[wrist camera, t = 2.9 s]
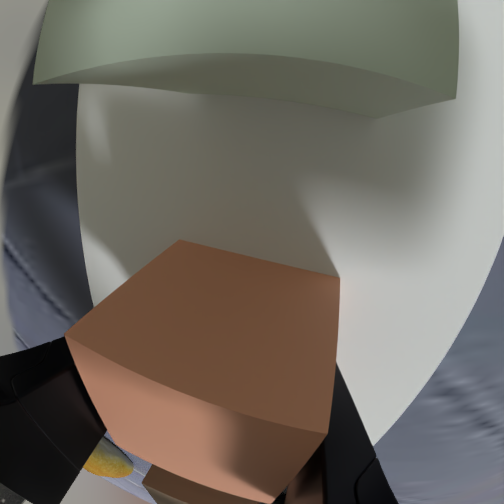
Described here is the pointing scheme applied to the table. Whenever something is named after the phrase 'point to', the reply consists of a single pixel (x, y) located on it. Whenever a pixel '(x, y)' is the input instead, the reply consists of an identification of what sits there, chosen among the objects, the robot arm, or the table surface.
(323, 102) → the sage block
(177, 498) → the walnut block
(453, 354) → the table surface
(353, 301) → the white mat
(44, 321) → the table surface
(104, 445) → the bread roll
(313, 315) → the terracotta block
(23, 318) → the table surface
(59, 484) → the robot arm
